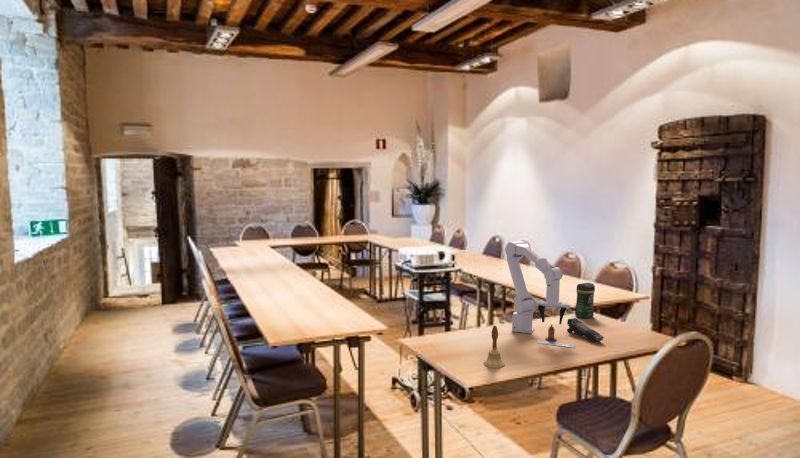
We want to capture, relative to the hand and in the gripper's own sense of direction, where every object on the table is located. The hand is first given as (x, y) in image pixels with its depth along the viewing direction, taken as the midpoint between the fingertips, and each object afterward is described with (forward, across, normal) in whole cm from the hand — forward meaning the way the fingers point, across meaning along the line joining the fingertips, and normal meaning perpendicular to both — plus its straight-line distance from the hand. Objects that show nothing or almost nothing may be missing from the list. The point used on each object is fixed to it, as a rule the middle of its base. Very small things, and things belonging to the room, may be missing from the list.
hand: (551, 322), depth 244 cm
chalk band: (+8, +3, -6) cm, 10 cm away
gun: (+9, +13, +11) cm, 19 cm away
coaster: (+8, 0, 0) cm, 8 cm away
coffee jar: (+8, +10, +49) cm, 51 cm away
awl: (+8, 0, 0) cm, 8 cm away
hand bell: (+8, -16, -43) cm, 47 cm away
